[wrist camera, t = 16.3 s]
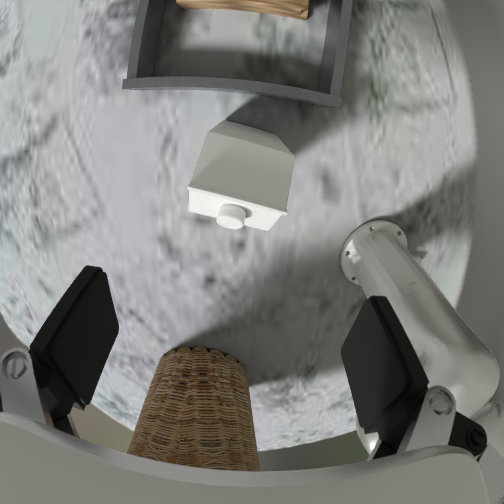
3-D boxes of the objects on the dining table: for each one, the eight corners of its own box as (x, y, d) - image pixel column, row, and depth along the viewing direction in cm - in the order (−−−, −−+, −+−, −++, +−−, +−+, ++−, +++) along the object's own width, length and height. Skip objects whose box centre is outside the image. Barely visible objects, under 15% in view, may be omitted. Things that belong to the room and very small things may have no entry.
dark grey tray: (339, -4, 22) (356, -21, 16) (324, 106, 31) (340, 108, 25) (162, -20, 20) (147, -39, 14) (143, 90, 29) (122, 89, 23)
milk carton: (223, 119, 32) (199, 137, 16) (276, 134, 33) (305, 167, 17) (210, 169, 36) (178, 233, 19) (260, 182, 37) (271, 256, 20)
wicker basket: (111, 363, 59) (77, 475, 31) (185, 295, 47) (147, 486, 18) (213, 413, 73) (208, 510, 44) (305, 371, 60) (325, 500, 32)
